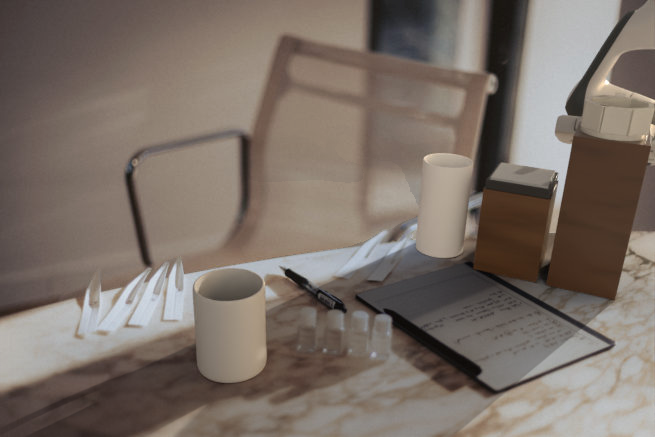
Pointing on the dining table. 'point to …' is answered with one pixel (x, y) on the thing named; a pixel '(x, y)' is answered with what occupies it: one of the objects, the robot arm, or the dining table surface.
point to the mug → (230, 324)
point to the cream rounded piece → (617, 117)
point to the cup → (443, 204)
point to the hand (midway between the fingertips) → (615, 121)
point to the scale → (522, 180)
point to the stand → (569, 220)
